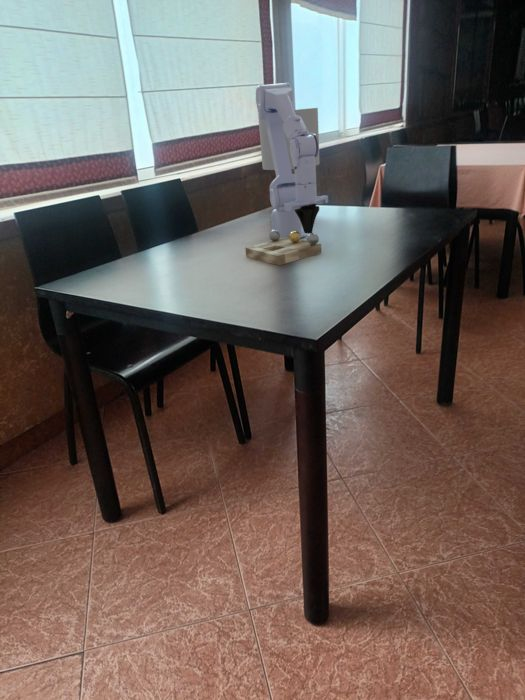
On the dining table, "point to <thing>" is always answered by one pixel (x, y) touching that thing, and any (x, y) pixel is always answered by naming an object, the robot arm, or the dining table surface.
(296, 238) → the ball
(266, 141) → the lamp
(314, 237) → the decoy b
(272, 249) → the plate
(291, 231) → the robot arm
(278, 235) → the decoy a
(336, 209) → the dining table surface
